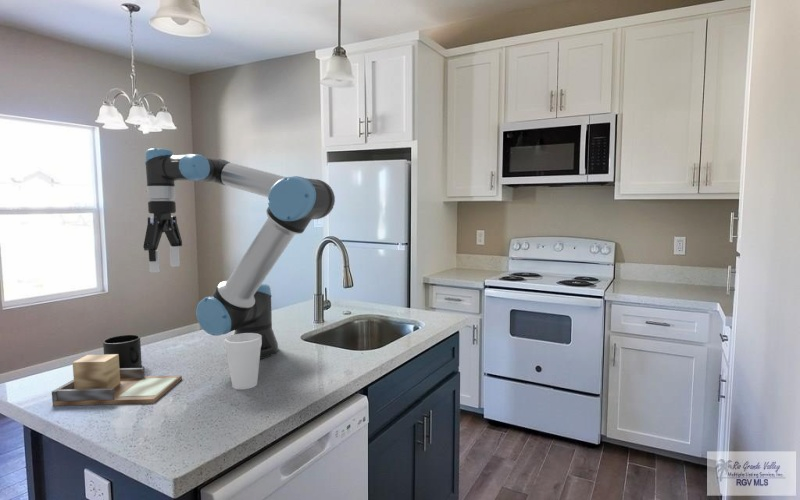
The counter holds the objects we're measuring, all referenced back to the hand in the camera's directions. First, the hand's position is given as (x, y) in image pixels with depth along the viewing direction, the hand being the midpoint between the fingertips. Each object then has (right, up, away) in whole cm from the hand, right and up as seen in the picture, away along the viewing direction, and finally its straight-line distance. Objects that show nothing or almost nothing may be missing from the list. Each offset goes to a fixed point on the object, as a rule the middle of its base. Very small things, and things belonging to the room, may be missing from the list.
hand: (165, 269), depth 142 cm
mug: (-8, -30, -6) cm, 31 cm away
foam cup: (+31, -31, -19) cm, 48 cm away
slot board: (0, -31, -23) cm, 38 cm away
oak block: (-6, -30, -23) cm, 38 cm away
